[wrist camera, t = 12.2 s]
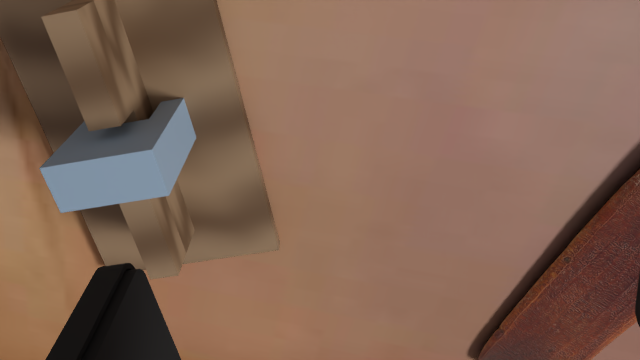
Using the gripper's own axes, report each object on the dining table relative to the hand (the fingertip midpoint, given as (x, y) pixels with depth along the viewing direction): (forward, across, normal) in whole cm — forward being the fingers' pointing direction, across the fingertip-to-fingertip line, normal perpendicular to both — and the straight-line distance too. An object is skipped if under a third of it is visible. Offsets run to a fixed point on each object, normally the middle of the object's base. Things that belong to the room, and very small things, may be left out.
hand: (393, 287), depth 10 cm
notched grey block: (+27, +15, +6) cm, 32 cm away
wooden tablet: (+28, -18, +26) cm, 42 cm away
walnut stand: (+28, +15, +6) cm, 33 cm away
